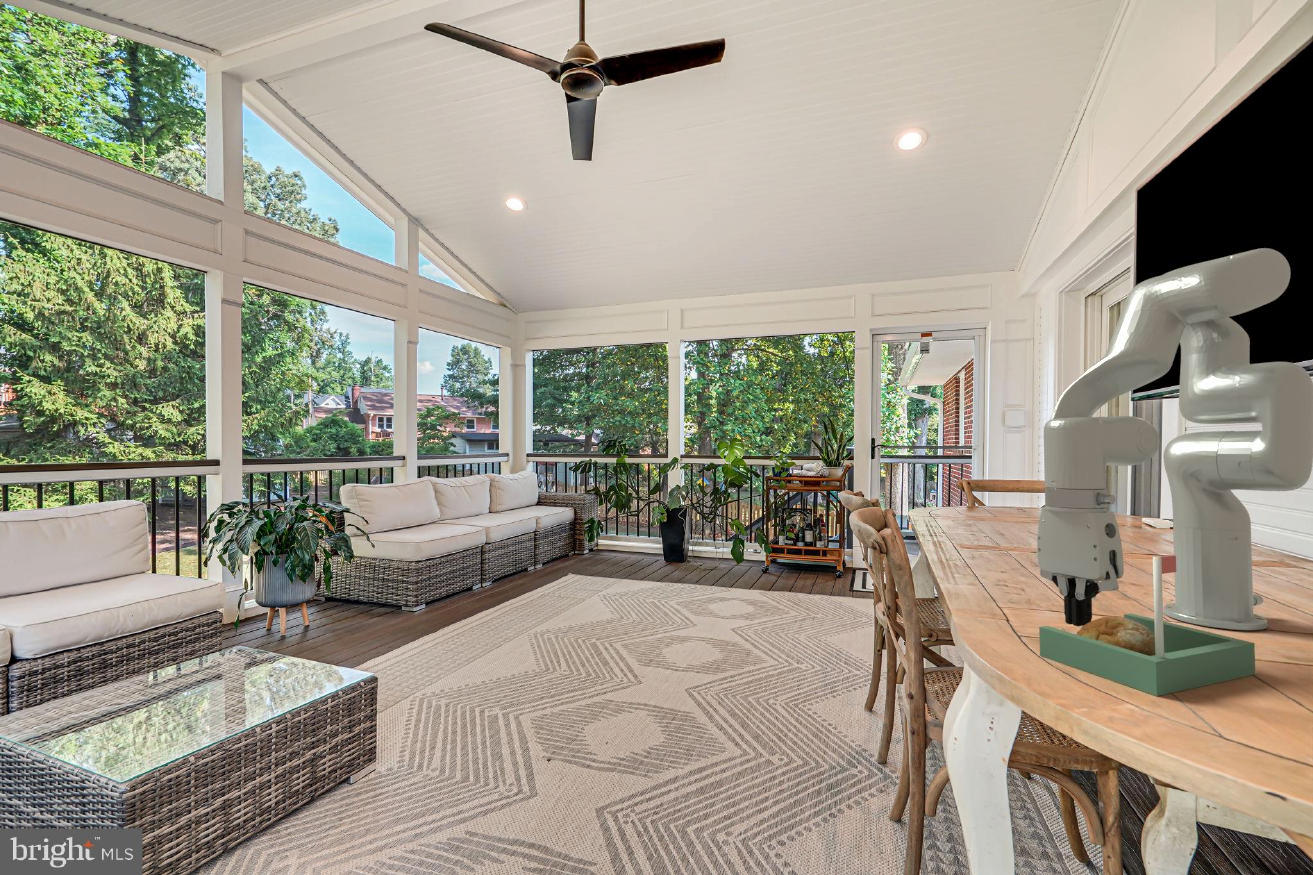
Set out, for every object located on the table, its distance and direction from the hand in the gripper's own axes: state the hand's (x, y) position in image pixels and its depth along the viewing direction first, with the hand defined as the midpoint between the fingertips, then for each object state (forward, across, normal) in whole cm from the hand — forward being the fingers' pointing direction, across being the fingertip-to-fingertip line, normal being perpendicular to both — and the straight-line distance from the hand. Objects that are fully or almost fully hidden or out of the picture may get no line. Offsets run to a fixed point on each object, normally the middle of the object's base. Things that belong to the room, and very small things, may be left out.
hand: (1078, 623), depth 87 cm
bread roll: (+4, -7, +2) cm, 8 cm away
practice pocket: (+3, -8, 0) cm, 8 cm away
